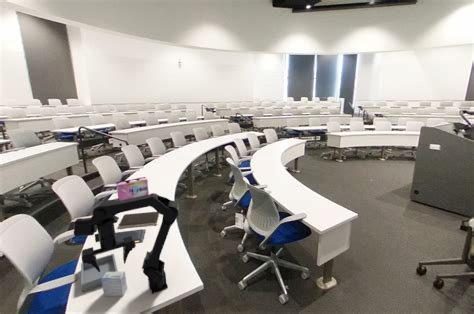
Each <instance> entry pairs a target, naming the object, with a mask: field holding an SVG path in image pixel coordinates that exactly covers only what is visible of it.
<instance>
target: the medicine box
mask: <svg viewBox="0 0 474 314" xmlns="http://www.w3.org/2000/svg"><path fill="white" fill-rule="evenodd" d="M101 280H102V285H101V286H102V291H103V292H102V293H103V297H120V296H121V297H122V296H123V297H124V295H125V293H126V291H127V290H128V284H127V277H126V272H125V271H123V270H122V271H118V272H106V273H105V275H104V276H103V278H102V279H101Z"/></svg>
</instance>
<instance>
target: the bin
mask: <svg viewBox="0 0 474 314" xmlns="http://www.w3.org/2000/svg"><path fill="white" fill-rule="evenodd" d="M96 259H97V262H98V264H99V268H100V272H98V270H97V269H96V268H95V267H94V266H93V265H91V264H87V263H80V286H81V291H82V292H85V291H88V290H91V289H94V288H98V287H100V286H102V280H101V279H102V278H103V276H104V275H105V273H106V272H119V271H118V267H117V261H116V257H115V253H111V254H107V255H105V256H102V257H98V258H97V257H96Z"/></svg>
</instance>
